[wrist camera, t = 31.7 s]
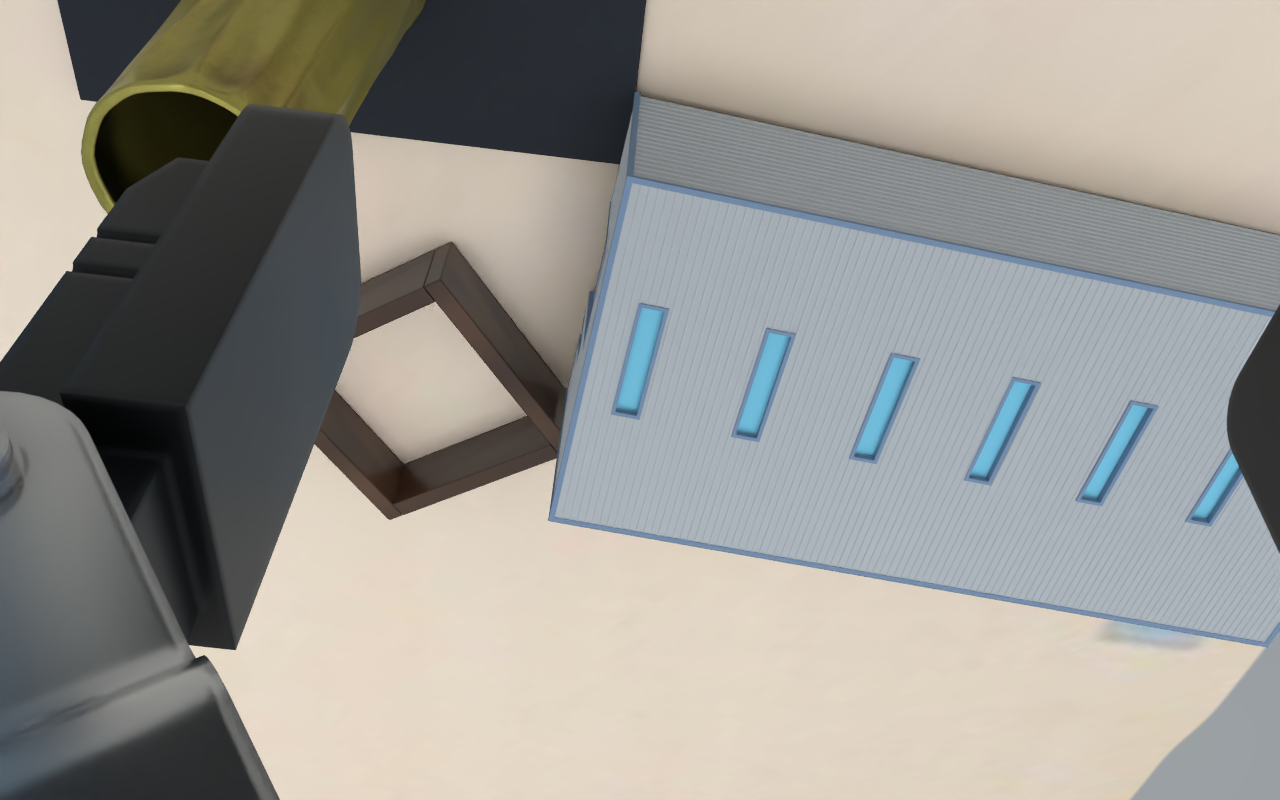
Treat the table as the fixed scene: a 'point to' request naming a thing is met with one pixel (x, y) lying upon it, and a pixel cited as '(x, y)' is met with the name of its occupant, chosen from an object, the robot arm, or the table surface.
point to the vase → (234, 78)
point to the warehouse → (920, 377)
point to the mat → (448, 71)
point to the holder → (503, 353)
